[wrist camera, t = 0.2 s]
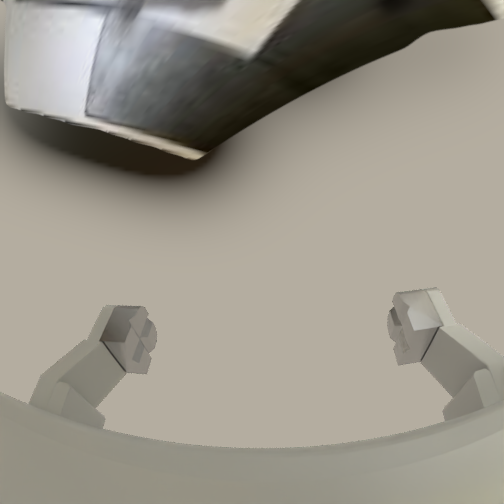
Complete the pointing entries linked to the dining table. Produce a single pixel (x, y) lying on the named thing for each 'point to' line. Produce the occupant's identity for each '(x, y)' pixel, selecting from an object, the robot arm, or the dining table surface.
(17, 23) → the dining table surface
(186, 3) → the dining table surface
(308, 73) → the dining table surface
